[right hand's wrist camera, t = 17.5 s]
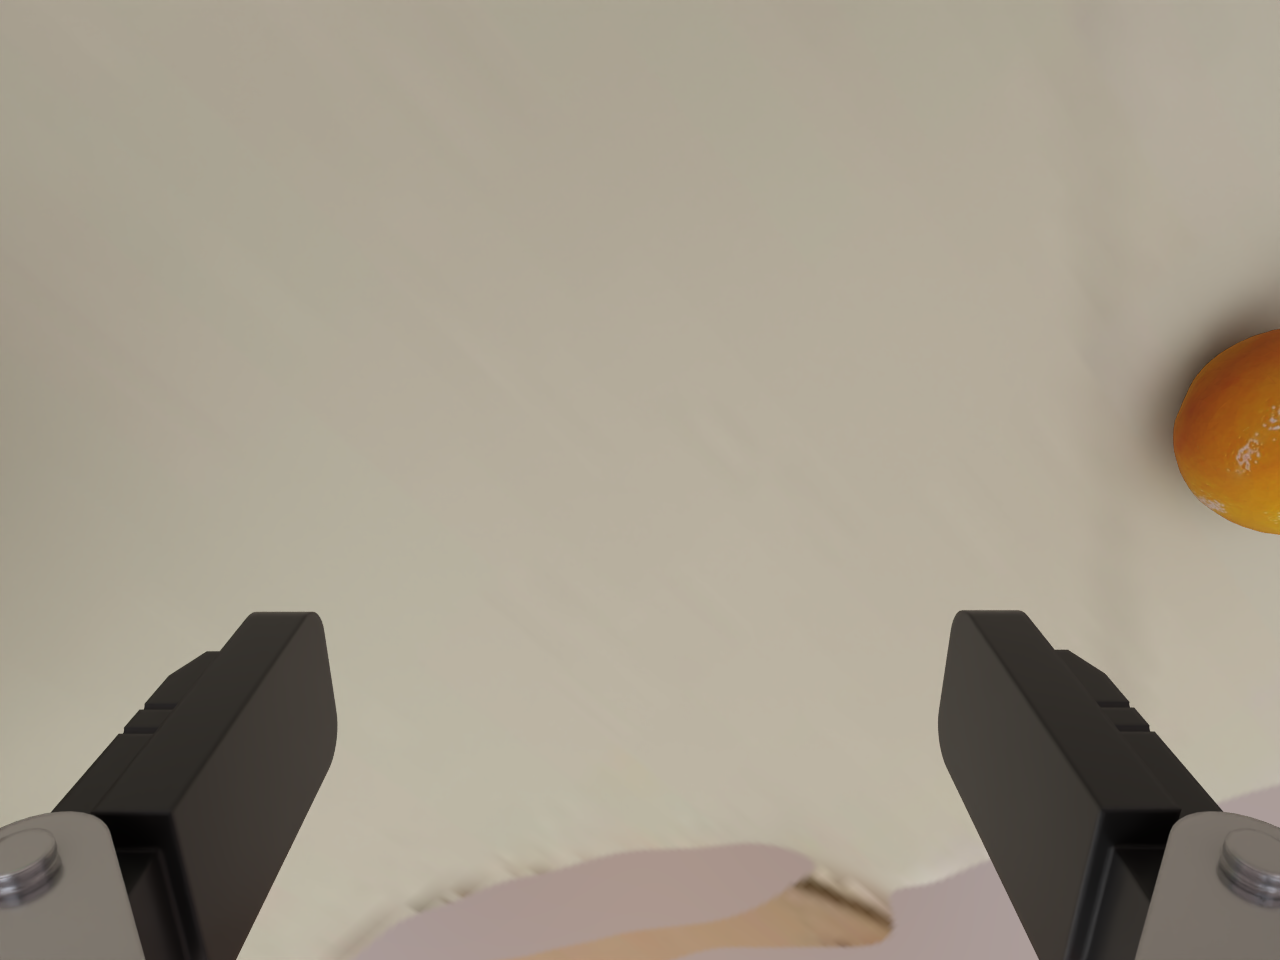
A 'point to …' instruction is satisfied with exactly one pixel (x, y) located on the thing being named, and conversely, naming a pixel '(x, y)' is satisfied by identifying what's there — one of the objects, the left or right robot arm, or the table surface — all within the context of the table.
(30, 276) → the table surface
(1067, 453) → the table surface
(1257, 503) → the fruit
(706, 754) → the table surface
